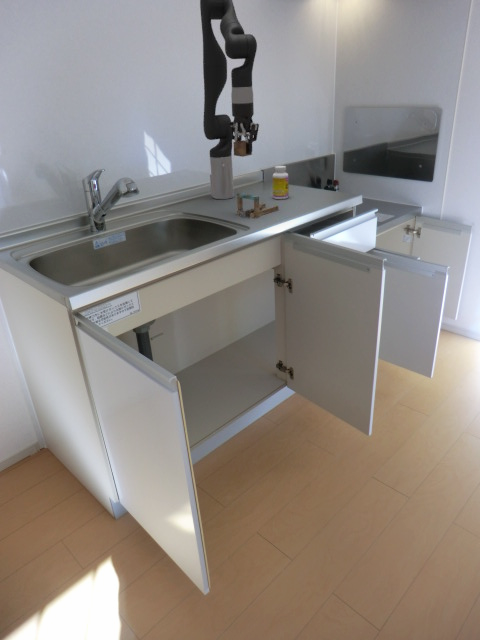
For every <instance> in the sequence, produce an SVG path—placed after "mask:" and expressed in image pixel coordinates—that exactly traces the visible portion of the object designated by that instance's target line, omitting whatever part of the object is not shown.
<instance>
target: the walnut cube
mask: <svg viewBox="0 0 480 640" xmlns="http://www.w3.org/2000/svg"><path fill="white" fill-rule="evenodd" d="M232 146H233V156H235V157H240V158H241V157H242V158H244V157H248V156H252V155H253V152H252V153H251V154H246V140H245V139H244V140H241V141H236V142H235V141H232Z"/></svg>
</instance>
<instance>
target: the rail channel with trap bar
mask: <svg viewBox="0 0 480 640" xmlns="http://www.w3.org/2000/svg"><path fill="white" fill-rule="evenodd" d="M236 198H237V199H236V200H237V201H236V202H237V211H236V213H237V216H240V210H241V209H244V206H243V205H244V204H243V199H246V200H252V201H253V206H254V212H253V213H250V217H249V218H250V219H253V218H260V216H263V215H266V214H270V213H272V212H276V211H279V205H275V206H271V207H267V208H266V206H267V205H266V203H264V202H263V203H260V196H258V195H252V194H246V193H243V192H238V193H236ZM259 206H262V210H259Z"/></svg>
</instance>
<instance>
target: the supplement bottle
mask: <svg viewBox="0 0 480 640" xmlns="http://www.w3.org/2000/svg"><path fill="white" fill-rule="evenodd" d="M274 171H275V172H274V173H273V174H272V198H273V199H274V200H286V199H288V198H289V192H290V191H289V173H287V172H286V171H287V166H285V165H276V166H274Z"/></svg>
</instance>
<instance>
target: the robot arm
mask: <svg viewBox="0 0 480 640" xmlns="http://www.w3.org/2000/svg"><path fill="white" fill-rule="evenodd" d="M199 7H200V20H201V33H202V58H203V59H202V65H203V66H202V70H203V72H202V73H203V92H204V93H203V95H204V96H203V98H204V101H203V123H202V124H203V133H204V136H205V138H206V139H207V140H209V141H214V140H219V141H218V143H217V144H216V145H215V146H213V147H212V148H210V150H209V160H210V161H209V162H210V163H209V164H210V175H209V178H210V179H209V180H210V181H209V183H210V192H211V193H210V194H211V198H213V199H215V200H228V199H232V198H234V197H235V189H234V176H233V175H234V174H233V157H232V155H233V153H232V152H233V151H232V150H233V141H234V142H236V141H242V139H243V137H244V141H246V154H251V153H252V154H253V142H256V141H257V140H258V139H257V138H258V134H259V127H260V124H259V123H255V122H254V121H253V117H254V114H255V113H254V91H253V90H254V89H253V69H254V63H255V58H256V55H257V49H258V44H257V39H256V37H255V36H254V35H253V34H250V33H249V34H248V33H245V30H244V28H243V26H242V25H241V23H240V21H239V19H238V17H237V13H236V9H235V5H234V1H233V0H199ZM215 20H216V21H217V20H220V23H219V30H220V34H221V35H222V38H223V40H224V42H225V43H224V51H223V49H222V47H221V45H220V44H219V42H218V40H217V38H216V35H215V34H214V30H213V29H214V28H213V25H212V21H215ZM224 52H225V53H224ZM226 56H227V57H226ZM227 58H229V59H231V60H244V61H243V63H242V65H240V66H237V67H233V68H232V70H231V74H230V75H231V76H230V77H231V92H230V93H231V116H232V117H234V118H233V121H232V120H231V118H230V116H229V115H227V114H226V113H225V114H216V109H217V104H218V101H219V98H220V96H221V94H222V92H223V90H224V89H225V86H226V84H227V80H228V60H227Z"/></svg>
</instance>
